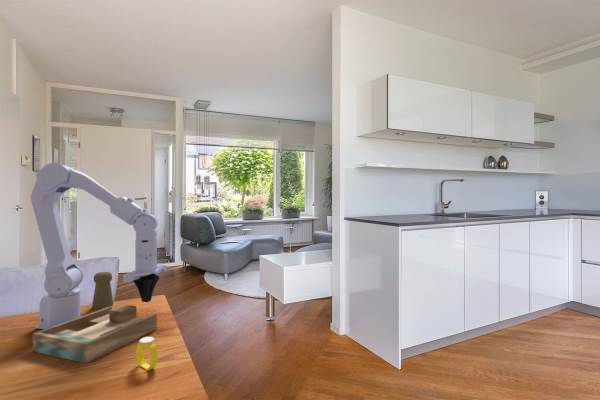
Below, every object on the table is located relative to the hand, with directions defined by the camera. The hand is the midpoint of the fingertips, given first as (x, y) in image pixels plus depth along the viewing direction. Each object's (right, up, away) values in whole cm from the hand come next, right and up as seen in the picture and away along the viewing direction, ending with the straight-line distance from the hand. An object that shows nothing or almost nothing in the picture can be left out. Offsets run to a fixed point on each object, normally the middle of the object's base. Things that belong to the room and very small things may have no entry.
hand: (146, 301), depth 96 cm
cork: (-19, -5, +11) cm, 23 cm away
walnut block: (-3, -3, -8) cm, 8 cm away
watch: (+13, -5, -28) cm, 31 cm away
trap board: (-5, -5, -14) cm, 16 cm away
